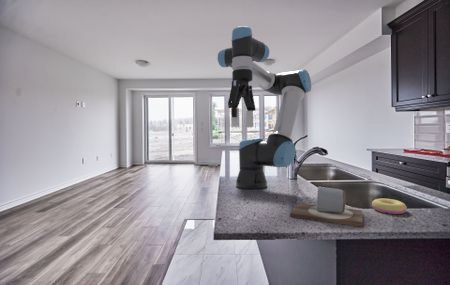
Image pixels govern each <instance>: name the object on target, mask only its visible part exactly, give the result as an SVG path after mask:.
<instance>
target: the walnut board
mask: <svg viewBox="0 0 450 285" xmlns="http://www.w3.org/2000/svg"><path fill="white" fill-rule="evenodd" d="M289 217H290V218H296V219H303V220H310V221H316V222H318V221H319V222H323V223H324V222H326V223H332V224H339V225H347V226H355V227H362V228H363V227H364V226H363V225H364V222H363V218H364V217H363V210H361V209H353V208H345V211H344V212H343V213H334V212H324V211H317V204H306V203H297V204H296V206H295V207H294V208H293V209H292V210H291V212H290V214H289Z"/></svg>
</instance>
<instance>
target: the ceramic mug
mask: <svg viewBox="0 0 450 285" xmlns="http://www.w3.org/2000/svg"><path fill="white" fill-rule="evenodd" d="M316 197H317V198H316V205H317V211H324V212H334V213H343V212H344V211H345V209H346V192H345V190H343V189H340V188H333V187H324V186H317V196H316Z"/></svg>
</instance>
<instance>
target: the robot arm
mask: <svg viewBox="0 0 450 285" xmlns="http://www.w3.org/2000/svg"><path fill="white" fill-rule="evenodd" d="M269 56H270V48H269V46H268V45H266V44H265V43H264V42H263V41H260V40H258V39H256V38H254V37H253V30H252V28H251V27H250V26H246V25H240V26H237V27H235V28H233V29H232V31H231V47H228V48H227V47H226V48H225V49H222V50H220V51H219V52H217V58H216V60H217V62H218V65H219V66H220V67H222V68H229V67H230V68H232V70H233V71H232V72H231V73H232V76H231V77H232V79H231V80H232V81H231V88H230V93H229V96H228V102H227V105H228V106H227V107H228V109H230V110H231V111H230V116H231V127H232V128H234V127H235V128H236V127H237V128H239V127H240V108H239V104H240V102H241V99H243V101H244V104H245V107H246V111H245V121H246V122H245V123H246V124H245V125H246V126H245V127H246V128H254V112H255V111H256V105H255V100H254V94H253V93H254V92H253V86H252V85H249V83H250V82H254V83H256V84H257V85H258V86H259V88H260V89H262V90H264V91H265V92H268V93H270V94H273V95H276V96H283V97H282V99H281V103H280V106H279V110H278V114H277V117H276V120H275V124H274V127H273V130H272V133H270V134H269V135H268V136H267V139H266V140H265V141H264V140H263V139H264V138H262V137H261V138H253V139H244V140H242V141H239V145H238V147H239V148H238V152H239V153H238V155H239V157H238V158H239V160H238V161H239V165H238V166H239V171H238V174H237V177H236V182H235V186H236V188H239V189H245V190H247V189H248V190H257V189H258V190H259V189H264V188H266V187H268V181H267V178H266V175H265V172H264V167H273V168H287V167H289V166H291V165H292V163H293V161H294V159H295V156H296V146H295V144H294V142H293V139H292V138H291V137H292V133H293V129H294V126H295V121H296V117H297V113H298V109H299V107H300V102H301V101H302V100H304V98H305V94H306V93H309V92H311V90H312V81H311V80H312V79H311V76H310V73H309V71H308V70H307V69H297V70H293V71H287V72H280V73H273V72H272V71H268V70H266V69H264V68H263V67H261V66H260V65H258V64H257V63H264V62H266V61H267V60H268V58H269Z"/></svg>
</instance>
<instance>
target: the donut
mask: <svg viewBox="0 0 450 285" xmlns="http://www.w3.org/2000/svg"><path fill="white" fill-rule="evenodd" d="M371 207H372V208H373V209H374V211H377V212H380V213H383V214H390V215H403V214H405V213H406V212H407V209H408V208H407V205H406V204H405V203H404V202H402V201H400V200H397V199H391V198H375V199H374V200H372V202H371Z"/></svg>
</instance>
